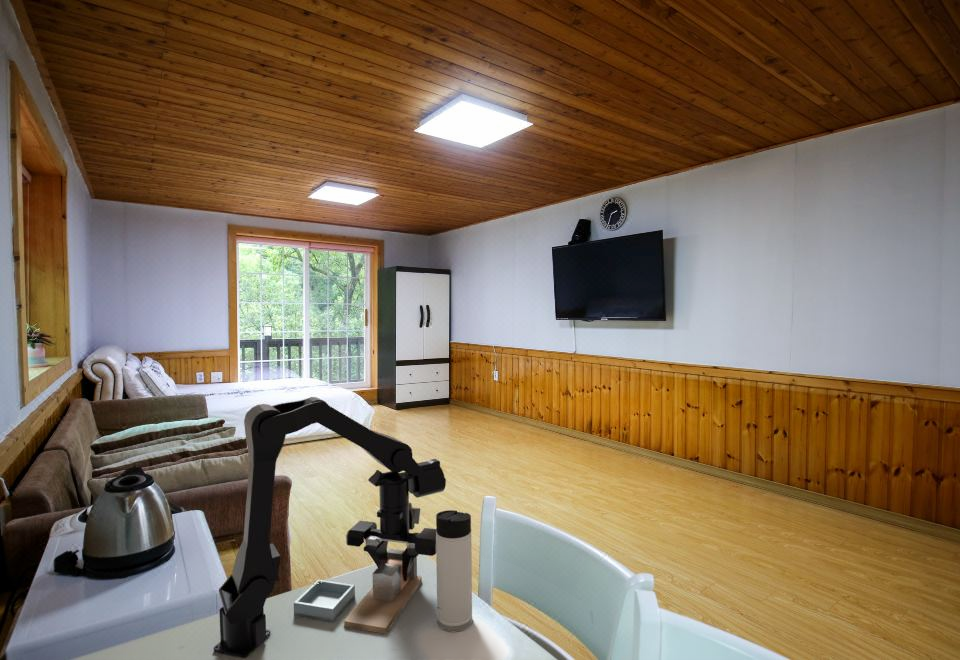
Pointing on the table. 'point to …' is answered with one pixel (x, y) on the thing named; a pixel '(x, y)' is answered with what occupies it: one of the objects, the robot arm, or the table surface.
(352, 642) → the table surface
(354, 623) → the rail base
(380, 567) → the block
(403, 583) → the block
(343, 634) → the table surface
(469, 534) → the travel mug
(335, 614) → the tray
